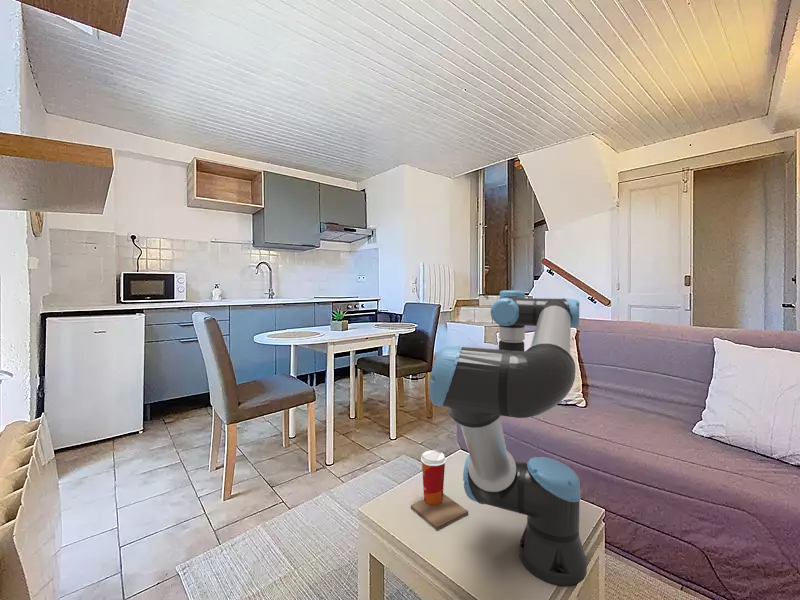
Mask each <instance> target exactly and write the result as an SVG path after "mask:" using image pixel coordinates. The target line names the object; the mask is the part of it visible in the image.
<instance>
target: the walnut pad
mask: <svg viewBox="0 0 800 600" xmlns="http://www.w3.org/2000/svg"><path fill="white" fill-rule="evenodd" d="M410 509H411V510H412V511H413V512H414V513H416V514H417V515H418V516H419V517H421V519H423V521H425V522H427V524H429V525H430V526H431V527H432V528H433V529H434V530H436V531H439V530H441V529H443V528H445V527H447V526H448V525H449V526H450V525H451V524H453V523H455V522H458V521H460V519H463V518H465V517H467V516H469V510H467V509H466V508H465V507H464V506H462V505H460V504H459V503H457V502H456V501H454V500H453V499H452V498H450V497H449V496H448V495H446V494H445V493H443V499H442V503H441V504H439V505H435V506H433V505H429V504H427V503H426V502H425V501H424V499H420V500H419V501H417V502H414V503H413V504H410Z"/></svg>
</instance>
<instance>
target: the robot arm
mask: <svg viewBox="0 0 800 600" xmlns="http://www.w3.org/2000/svg"><path fill="white" fill-rule="evenodd" d="M490 317H491V319H492V321H494V323H495V324H497V325H498V327H499V328H498V339H499V341H498V349H496V348H495V349H494V348H483V347H468V346H463V345H455V346H454V345H452V346H451V345H447V346H444V347H441V349H440V350H439V351H438V352H437V354H436V356H435V359H434V362H433V365H432V369H431V373H430V380H429V399H430V402H431V404H432V405H434V406H437V407H439V408H442V407H443V408H446V409H447V413H448V415H449V416H450V418H451V419H452V420H453V421H454V422H455V423H457V424H458V425H459V426H460V429H461V432H462V436H463V438H464V442H465V444H466V448H467V450H468V451H467V452H468V456H467V457H466V458H465V462H464V467H463V473H462V474H463V475H462V476H463V477H462V479H463V480H462V481H463V488H464V489H463V490H464V492H465V494H466V496H467V498H469V500H471V501H473V502H475V503H478V504H480V505H487V506H489V507H490V506H491V507H494V508H499V509H502V510H507V511H510V512H513V513H517V514H521V515H525V516H527V518H526V525H525V527H524V529H523V532H522V534H521V536H520V537H521V538H520V539H519V543H518V544H519V546H518V553H519V557H520V562H521V563H522V564H523V566H524V567H525V568H526V569H527V570H528V571H529V572H530V573H531V574H533V576H535V577H537V578H538V579H541V580H542V581H544V582H547V583H550V584H553V585H559V586H574V585H577V584H579V583H581V582H582V581H584V579H585V578H586V576H587V573H588V572H587V570H588V568H587V567H588V561H587V560H588V559H587V557H586V554H585V550H584V547H583V543H582V541H581V537H580V502H581V498H582V493H581V487H580V478H579V477H578V475H577V473H576V472H575V471H574V470H573V469H572V468H570V467H569V466H568V465H567V464H565V463H564V462H561V461H559V460H556V459H553V458H550V457H546V456H539V457H538V456H534V457H531V458H529V460H528V461H527V462H523V461H519V460H515V459H514V457H513V455H512V454H511V453H510V451H508V450H507V446H506V440H505V435H504V430H503V425H502V420H501V418H502V417H507V418H508V417H509V418H515V419H527V418H532V417H535V416H539V415H541V414H544V413H546V412H548V411H550V410H551V409H553V408H554V407H556V406H558V404H560V403H561V402H562V401H563V400H564V399H565V398H566V397H567V396H568V394H569V392H570V391H571V390H572V388H573V385H574V383H575V379H576V363H575V360H574V358H573V356H572V354H571V334H572V333H571V330H572V328H573V329H575V328H577V327H579V324H580V301H579V300H577V299H572V298H565V297H564V298H563V297H562V298H535V297H533V298H531V297H530V298H527V297H526V293H525V291H523V290H509V289H508V290H504V289H503V290H501V291H500V292H499V298H498V299H497V300H496V301H494V302H493V304H492V305H491V307H490ZM525 326H528V327H533V326H534V327H535V329H534V333H533V337H532V341H531V345H530V347H528V348H527V349H526V350H525V342H524V340H525V339H526V337H525V335H526V333H525V332H526V327H525Z"/></svg>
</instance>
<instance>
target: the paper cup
mask: <svg viewBox="0 0 800 600" xmlns="http://www.w3.org/2000/svg"><path fill="white" fill-rule="evenodd" d="M420 461H421V468H422V469H421V471H422V486H423V500H424V501H425V502H426V503H427V504H429V505H433V506H435V505H439V504H441V503H442V499H443V494H444V484H445V483H444V481H445V468H446V465H445V464H446V462H447V458H446V457H445V454H444V453H443V452H441V451H438V450H437V451H436V450H425V451H424V452H423V453H422V454H421V457H420Z"/></svg>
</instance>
